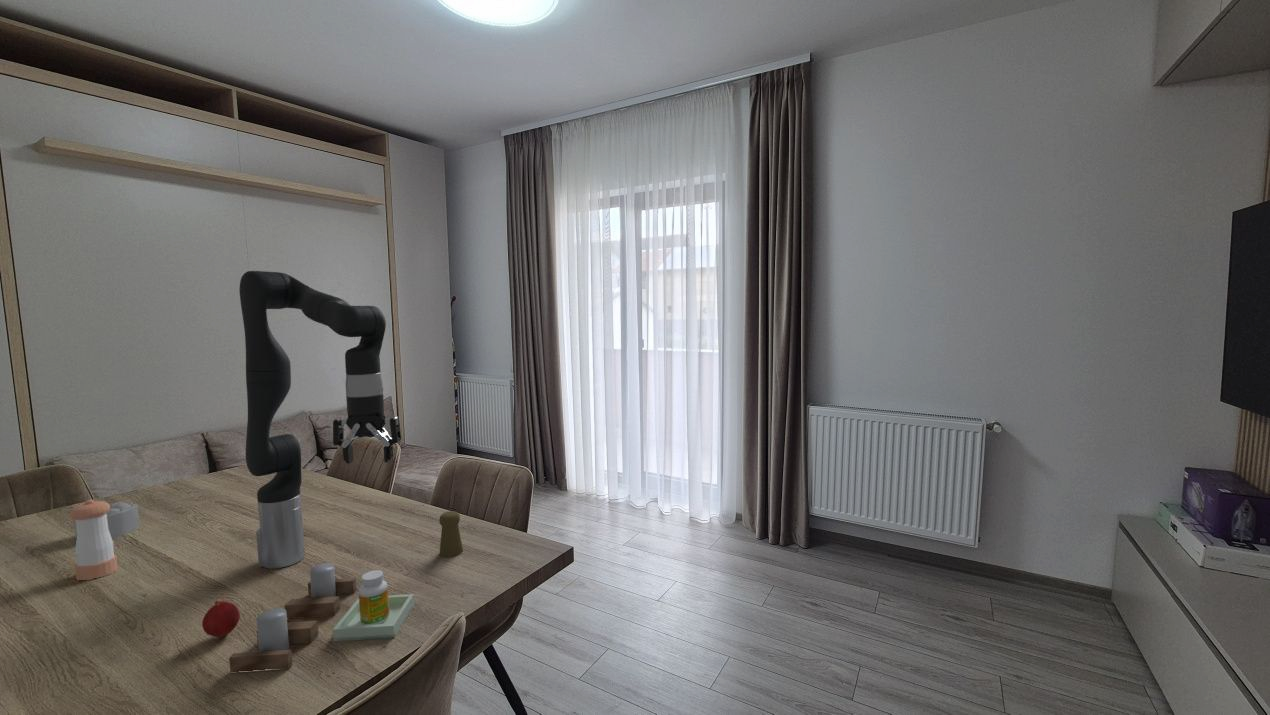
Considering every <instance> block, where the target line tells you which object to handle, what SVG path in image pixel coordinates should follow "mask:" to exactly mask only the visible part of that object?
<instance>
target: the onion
mask: <svg viewBox="0 0 1270 715" xmlns="http://www.w3.org/2000/svg"><path fill="white" fill-rule="evenodd" d="M240 618H241V614H240V610H239V608H238V607H237V605H235V604H234V603H232V602H230V601H229V602H228V601H224V600H222V599H219V598H218V599H217V600H215V601H214V605H213V606H211V607H210V608H209V609H208V610H207V612H206V613H205V614H204V617H203V619H202V622H201V623H202V624H201V627H202V629H203V630H202V631H204V633H206V635H208V636H211V637H215V638H218V639H223V637H224V638H225V637H227V635H230V633H232V632H233V630H234V629H235V628H236V627H237V625H238V624H239V622H240Z"/></svg>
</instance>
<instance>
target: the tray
mask: <svg viewBox="0 0 1270 715" xmlns="http://www.w3.org/2000/svg"><path fill="white" fill-rule="evenodd" d="M388 602H389V617H388V618H387V620H385V621H384V622H383V623H381V624H376V625H362V624H361V620H360V604H359V597H358V598H357V600H356V601H355V602H354V603H353V604H352V605H351V606H350V608H349V609H348V610H347V611H346V613H345V614H344V615H343V616H342V617H341V619H340V620H339V621H338V623H337V624H336V625H335V626H334V627H333V629H332V636H333V642H345V641H360V640H361V641H363V640H365V641H366V640H377V639H392V638H393V639H394V638H395V637H396V636H397V634H398V632H399V631H400V630H401V627H402V626H403V625H404V623H405V621H406V620H407V618H408V616H409V614H410V613H411V612H412V609H413V608H414V607H415V594H414V593H411V594H397V595H396V594H393V595H390V594H389V595H388Z"/></svg>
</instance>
